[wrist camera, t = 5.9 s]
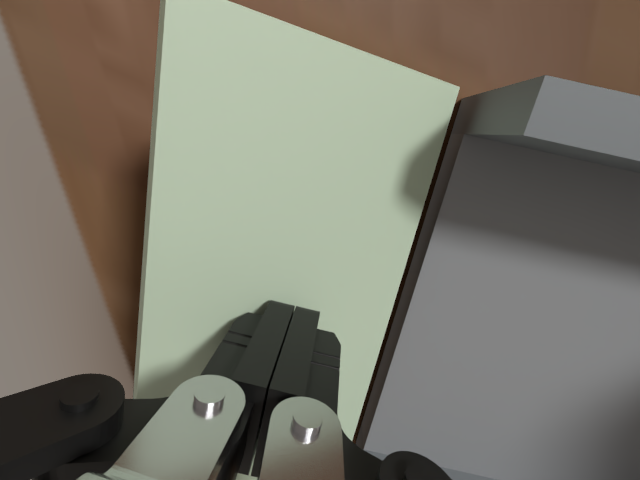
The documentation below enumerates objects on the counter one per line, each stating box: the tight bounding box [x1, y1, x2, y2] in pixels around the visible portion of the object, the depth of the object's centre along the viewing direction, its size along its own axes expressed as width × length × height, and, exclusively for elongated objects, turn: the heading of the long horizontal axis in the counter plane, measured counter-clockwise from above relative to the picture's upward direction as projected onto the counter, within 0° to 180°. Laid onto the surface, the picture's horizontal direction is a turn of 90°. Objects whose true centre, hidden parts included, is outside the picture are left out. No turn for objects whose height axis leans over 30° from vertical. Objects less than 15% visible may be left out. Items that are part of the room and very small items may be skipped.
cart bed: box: [356, 75, 640, 480], centre depth 12 cm, size 14×16×6 cm
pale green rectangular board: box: [133, 0, 460, 480], centre depth 11 cm, size 1×16×8 cm
